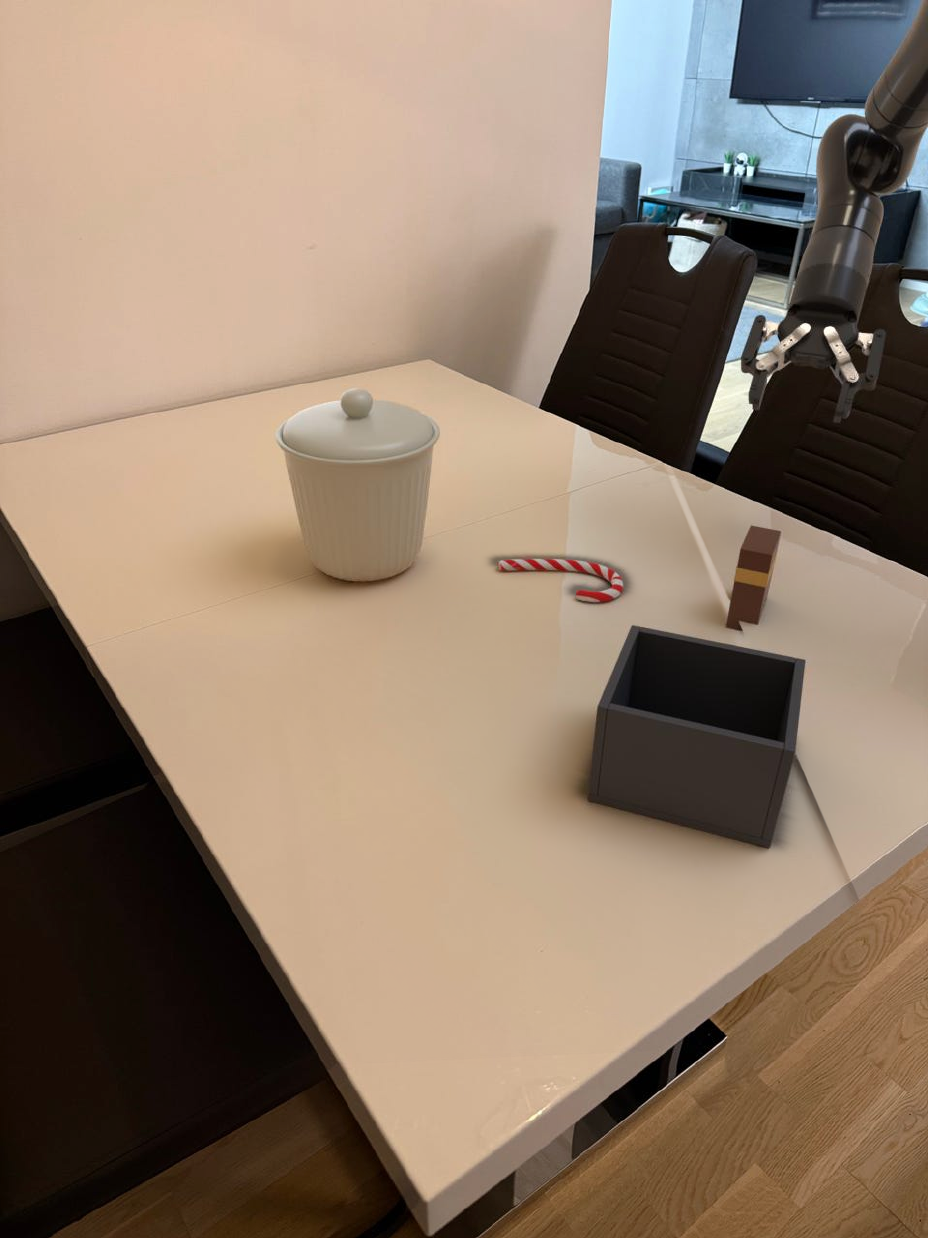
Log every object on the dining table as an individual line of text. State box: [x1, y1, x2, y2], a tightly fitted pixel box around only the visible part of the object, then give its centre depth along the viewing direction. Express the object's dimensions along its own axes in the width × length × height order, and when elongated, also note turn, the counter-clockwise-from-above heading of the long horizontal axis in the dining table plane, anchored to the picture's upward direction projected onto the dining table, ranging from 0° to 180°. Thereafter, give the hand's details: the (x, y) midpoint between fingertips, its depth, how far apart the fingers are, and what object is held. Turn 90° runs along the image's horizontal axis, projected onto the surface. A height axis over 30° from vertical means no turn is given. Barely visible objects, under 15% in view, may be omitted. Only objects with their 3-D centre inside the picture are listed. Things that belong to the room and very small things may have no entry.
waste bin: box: [586, 624, 806, 849], centre depth 76 cm, size 15×13×10 cm
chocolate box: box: [725, 525, 782, 632], centre depth 98 cm, size 3×6×10 cm, turn 155°
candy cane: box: [497, 558, 624, 603], centre depth 106 cm, size 8×1×15 cm
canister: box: [275, 387, 441, 582], centre depth 105 cm, size 18×18×21 cm
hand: (795, 413), depth 99 cm, fingers open, 8 cm apart
